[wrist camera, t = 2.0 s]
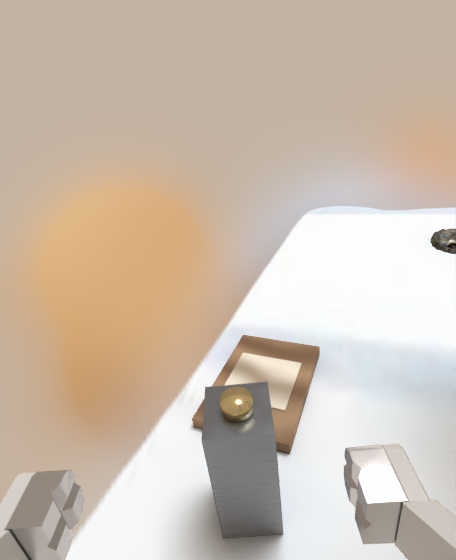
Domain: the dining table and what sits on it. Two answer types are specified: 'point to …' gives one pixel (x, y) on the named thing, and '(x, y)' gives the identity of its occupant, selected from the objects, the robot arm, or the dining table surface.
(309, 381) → the walnut board
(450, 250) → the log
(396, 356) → the dining table surface
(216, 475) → the block
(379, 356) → the dining table surface
